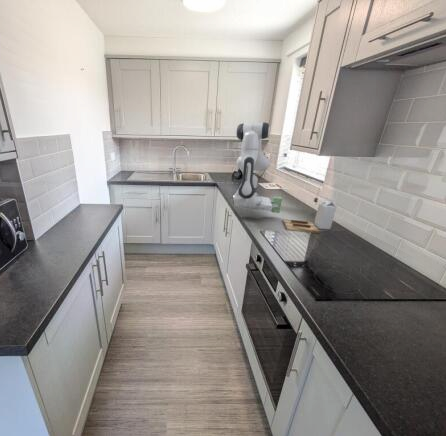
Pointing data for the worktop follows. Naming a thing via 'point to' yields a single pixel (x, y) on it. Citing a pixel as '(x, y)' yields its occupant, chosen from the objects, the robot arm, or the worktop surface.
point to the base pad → (300, 226)
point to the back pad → (277, 201)
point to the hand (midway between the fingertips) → (277, 204)
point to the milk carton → (325, 214)
